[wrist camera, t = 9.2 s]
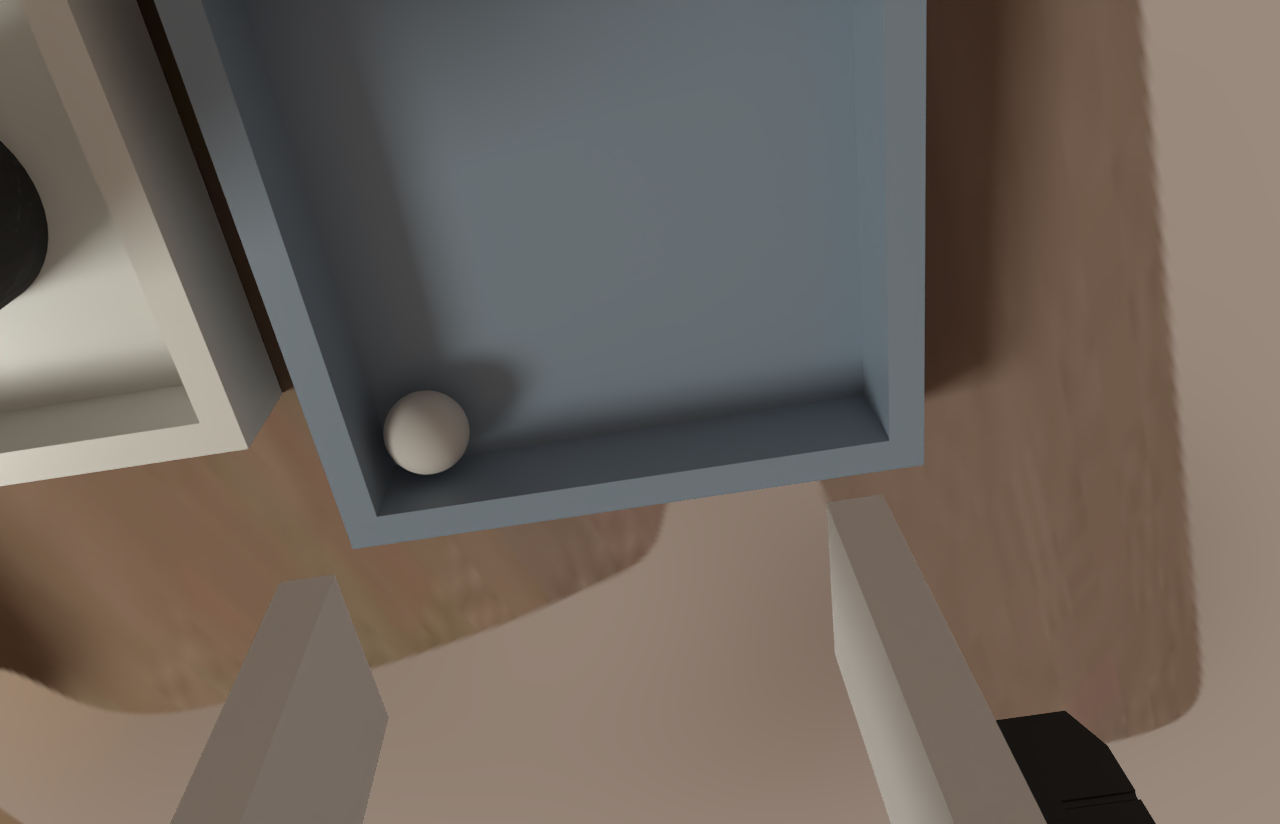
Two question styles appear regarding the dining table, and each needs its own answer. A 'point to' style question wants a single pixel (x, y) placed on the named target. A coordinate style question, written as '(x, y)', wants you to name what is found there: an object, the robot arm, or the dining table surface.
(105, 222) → the tray
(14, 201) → the travel mug
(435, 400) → the pebble
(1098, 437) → the dining table surface
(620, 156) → the bin
